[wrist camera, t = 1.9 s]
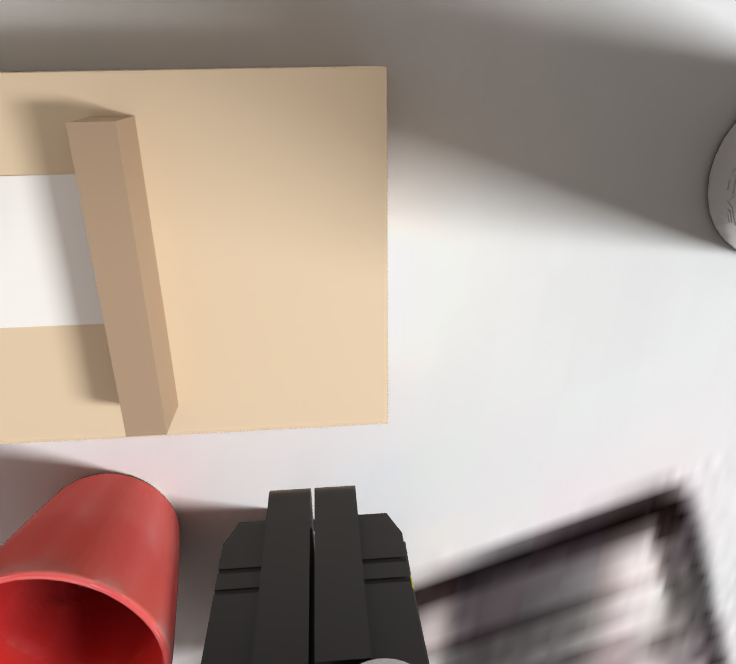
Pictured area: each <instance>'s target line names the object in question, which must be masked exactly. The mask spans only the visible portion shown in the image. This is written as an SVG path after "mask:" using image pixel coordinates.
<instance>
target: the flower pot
mask: <svg viewBox="0 0 736 664" xmlns="http://www.w3.org/2000/svg"><path fill="white" fill-rule="evenodd" d="M179 533H180V529H179V521H178V518H177V515H176V512H175V510H174V509H173V507H172V505H171V504H170V502H169V501H168V500H167V499H166V497H165V496H164V495H163V494H161V493H160V492H159V491H158V490H157V489H155V488H154V487H152V486H151V485H149V484H148V483H146V482H143V481H141V480H139V479H136V478H134V477H130V476H126V475H121V474H110V473H108V474H96V475H92V476H87V477H84V478H80V479H78V480H76V481H74V482H72V483H70V484H68V485H67V486H66V487H64V488H63V489H62V490H60V491H59V492H58V493H57V494H56V495H55V496H54V497H53V498H52V499H51V500H50V501H49V502H48V503H47V504H45V505H44V506H43V507H42V508H41V509H40V510H39V511H38V512H37V513H36V514H35V515H34V516H32V517H31V518H30V519H29V520H28V521H27V522H26V523H25V524H24V525H23V526H22V527H21V528H20V529H19V530H18V531H17V532H16V533H15V534H14V535H13V536H12V537H11V538H10V539H9V540H8V541H7V542H6V543H5V544H4V545H3V546H2V547H1V548H0V664H172V659H173V648H174V635H175V621H176V606H177V592H178V576H179Z"/></svg>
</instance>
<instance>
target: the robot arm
mask: <svg viewBox="0 0 736 664" xmlns="http://www.w3.org/2000/svg"><path fill="white" fill-rule="evenodd" d="M708 202H709V211H710V214H711V217H712V220H713V223H714V225H715V228H716V229H717V231H718V232H719V233H720V235H721V236H722V238H723V239H724V240H725V241H726V242H727V243H728V244H730V245H731V246H732V247H733V248H734V249H736V123H735V124H734V125H733V127H732V128H731V129H730V131H729V132H728V134H727V135H726V136H725V138H724V140H723V142H722V144H721V146H720V148H719V150H718V152H717V154H716V156H715V158H714V162H713V165H712V169H711V172H710V176H709V185H708ZM201 664H427V662H426V659H425V654H424V649H423V644H422V638H421V633H420V627H419V622H418V617H417V611H416V606H415V601H414V595H413V590H412V584H411V581H410V574H409V568H408V563H407V560H406V552H405V547H404V541H403V536H402V532H401V531H400V530H399V528H398V527H397V526H396V525H395V523H394V522H393V521H392V520H391V518H390V517H389V516H388V515H387V513H381V514H365V515H358V511H357V501H356V490H355V486H340V487H324V488H315V545H314V528H313V512H312V496H311V488H310V489H293V490H277V491H270V492H269V499H268V509H267V518H266V521H257V522H241V523H239V524H238V526H237V527H236V528H235V530H234V531H233V532H232V534H231V535H230V536H229V538H228V539H227V540H226V542H225V543H224V545H223V550H222V555H221V560H220V566H219V574H218V576H217V582H216V587H215V595H214V597H213V603H212V608H211V613H210V619H209V624H208V629H207V634H206V640H205V645H204V650H203V656H202V661H201Z"/></svg>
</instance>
